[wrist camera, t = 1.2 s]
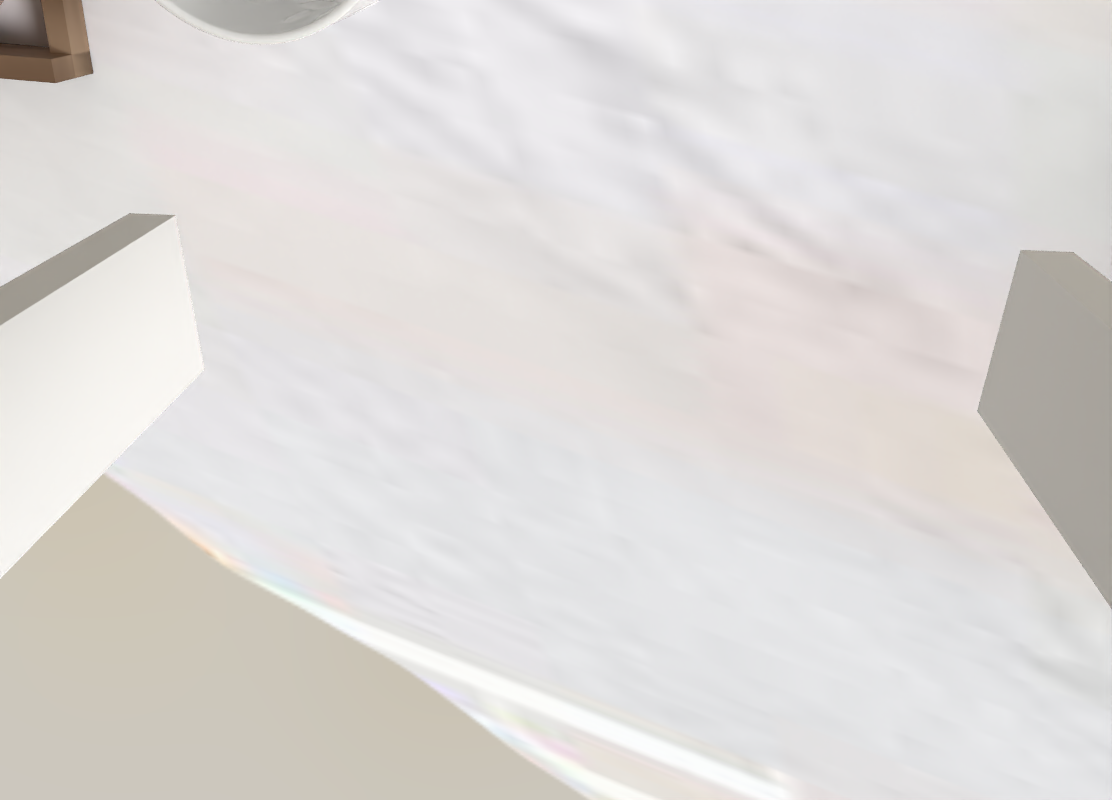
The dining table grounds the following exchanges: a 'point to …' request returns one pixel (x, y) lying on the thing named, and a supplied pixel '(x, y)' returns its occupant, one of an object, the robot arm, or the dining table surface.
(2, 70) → the brown wooden rack
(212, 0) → the white cup
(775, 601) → the dining table surface
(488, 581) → the dining table surface
